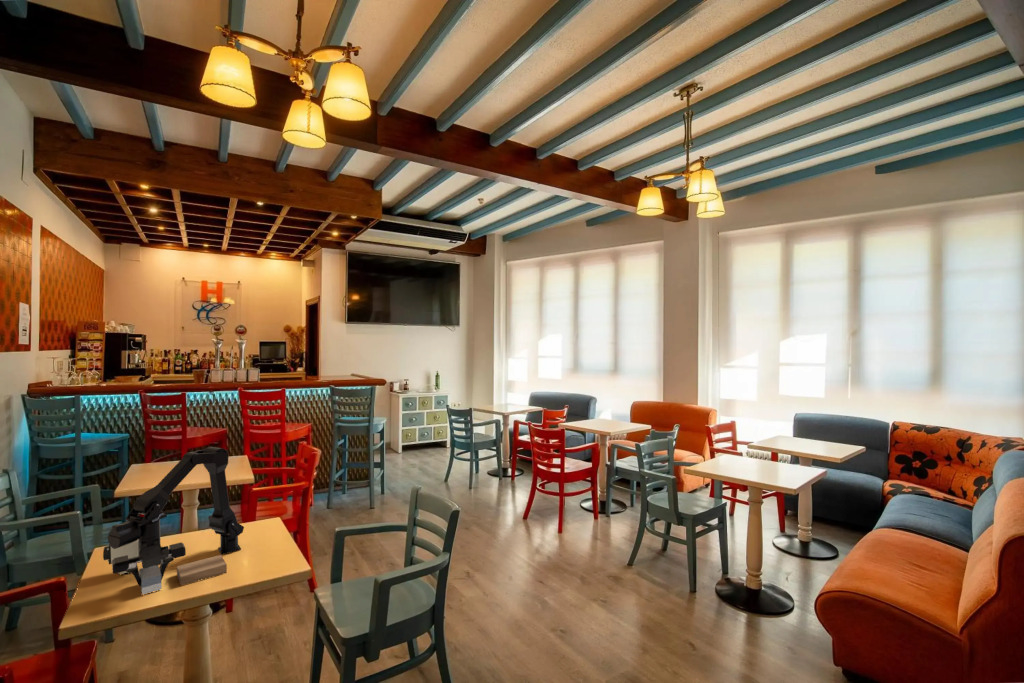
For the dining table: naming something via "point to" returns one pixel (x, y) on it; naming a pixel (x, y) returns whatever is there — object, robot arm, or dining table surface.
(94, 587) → the dining table surface
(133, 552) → the pneumatic valve
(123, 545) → the robot arm
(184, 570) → the walnut stand
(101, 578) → the dining table surface
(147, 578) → the block
